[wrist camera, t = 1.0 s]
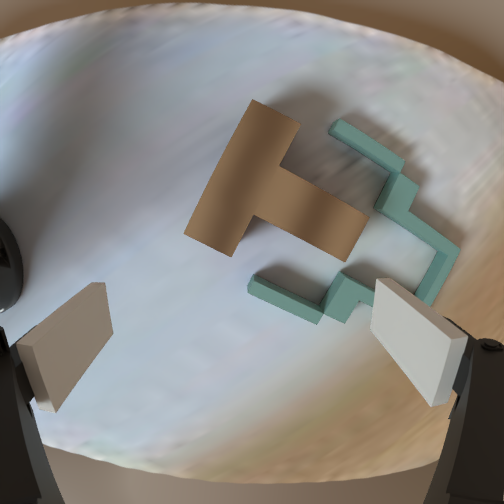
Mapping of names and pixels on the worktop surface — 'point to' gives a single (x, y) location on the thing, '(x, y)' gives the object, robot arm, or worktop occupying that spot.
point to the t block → (269, 192)
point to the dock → (391, 205)
